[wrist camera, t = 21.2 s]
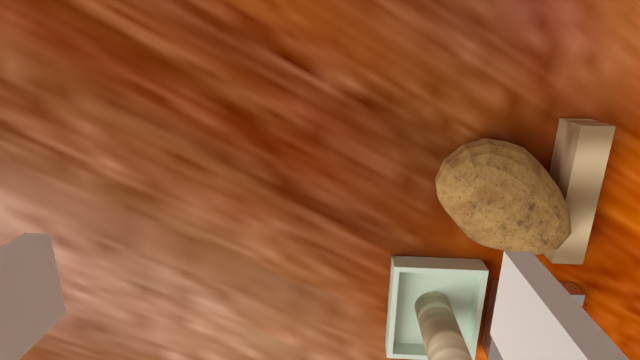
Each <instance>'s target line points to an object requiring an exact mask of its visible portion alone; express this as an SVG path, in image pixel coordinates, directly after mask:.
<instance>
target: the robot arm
mask: <svg viewBox="0 0 640 360" xmlns="http://www.w3.org/2000/svg"><path fill="white" fill-rule="evenodd" d="M66 314H67V313H66V308H65V303H64V298H63V294H62V289H61V284H60V279H59V275H58V270H57V265H56V260H55V256H54V251H53V246H52V241H51V236H50V234H34V233H24V234H23V235H21V236H19V237H18V238H16V239H14V240H13V241H11V242H9V243H7V244H6V245H4V246H2V247H1V248H0V360H19V359H20V358H21V357H22V356H23V355H24V354H25V353H26V352H27V351H29V350H30V349H31V348H32V347H33V346H34V345H35V344H36V343H37V342H38V341H39V340H40V339H41V338H42V337H43V336H44V335H45V334H46V333H47V332H48V331H49V330H50V329H51V328H52V327H53V326H54V325H55V324H56V323H57V322H58V321H59V320H60V319H61V318H62V317H64V316H65V315H66ZM490 334H491V336H492V338H493V340H494V342H495V344H496V346H497V348H498V350H499V352H500V354H501V356H502V358H503V360H629V359H628V358H627V357H626V356H625V354H624V353H623V352H622V351H621V350H620V349H619V348H618V347H617V346H616V345H615V343H614V342H613V341H612V340H611V339H610V338H609V337H608V336H607V335H606V333H605V332H604V331H603V330H602V329H601V328H600V327H599V326H598V325H597V324H596V322H595V321H594V320H593V319H592V318H591V317H590V316H589V315H588V314H587V312H586V311H585V310H584V309H583V308H582V307H581V306H580V305H579V304H578V303H577V301H576V300H575V299H574V298H573V297H572V296H571V295H570V294H569V293H568V291H567V290H566V289H565V288H564V287H563V286H562V285H561V284H560V283H559V282H558V280H557V279H556V278H555V277H554V276H553V275H552V274H551V273H550V272H549V270H548V269H547V268H546V267H545V266H544V265H543V264H542V263H541V262H540V261H539V259H538V258H537V257H536V256H535V255H534V254H533V253H532V252H514V251H504V254H503V260H502V266H501V271H500V277H499V283H498V289H497V295H496V301H495V307H494V312H493V318H492V324H491V330H490Z"/></svg>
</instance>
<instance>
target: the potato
mask: <svg viewBox="0 0 640 360" xmlns="http://www.w3.org/2000/svg"><path fill="white" fill-rule="evenodd" d="M435 183H436V190H437V197H438V199H439V201H440V203H441V204H442V206H443V207H444V209H445V210H446V212H447V213H448V214H449V215H450V216H451V218H452V219H453V220H454V221H455V222H456V223H457V225H458V226H459V227H460V228H461V229H462V230H463V231H464V233H465V234H466V235H467V236H468V237H469V238H470V239H472V240H474V241H476V242H477V243H479V244H481V245H483V246H486V247H490V248H495V249H500V250H505V251H514V252H532V253H533V254H535V255H538V254H542V253H546V252H550V251H554V250H557V249H558V248H559V247H560V246H561V245H562V244H563V242H564V241H565V240H566V239H567V238H568V237H569V236H570V234H571V233H572V232H571V219H570V209H569V207H568V205H567V203H566V201H565V199H564V197H563V195H562V193H561V191H560V189H559V187H558V186H557V184H556V183H555V182H554V180H553V179H552V178H551V176H550V175H549V173H548V172H547V171H546V170H545V168H544V167H543V166H542V165H541V164H540V163H539V161H538V160H537V159H536V158H534V157H533V156H532V155H531V154H530V153H529V152H528V151H527V150H526V149H525V148H524V147H521V146H518V145H515V144H512V143H509V142H507V141H501V140H494V139H488V138H484V139H480V140H476V141H473V142H470V143H466V144H463V145H461V146H460V147H459V148H458V149H457V150H456V151H454V152H453V153H452V154H450V155H449V156H448V157H447V158H445V159H444V161H443V163H442V165H441V167H440V169H439V171H438V174H437V176H436V178H435Z"/></svg>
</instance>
